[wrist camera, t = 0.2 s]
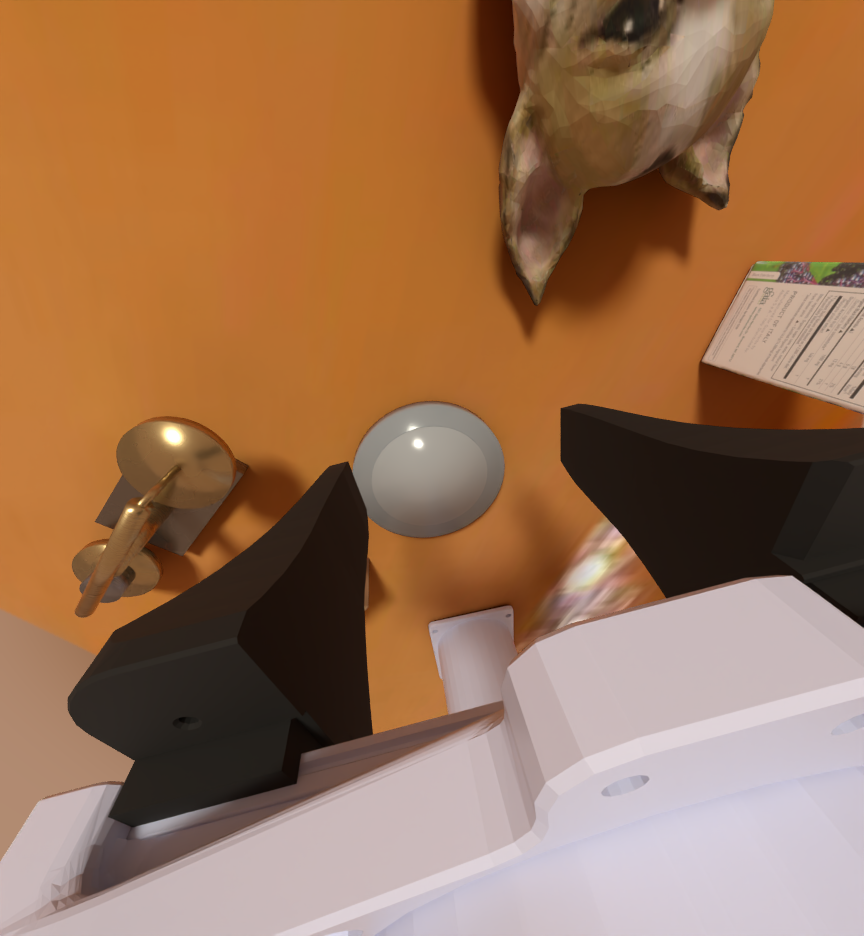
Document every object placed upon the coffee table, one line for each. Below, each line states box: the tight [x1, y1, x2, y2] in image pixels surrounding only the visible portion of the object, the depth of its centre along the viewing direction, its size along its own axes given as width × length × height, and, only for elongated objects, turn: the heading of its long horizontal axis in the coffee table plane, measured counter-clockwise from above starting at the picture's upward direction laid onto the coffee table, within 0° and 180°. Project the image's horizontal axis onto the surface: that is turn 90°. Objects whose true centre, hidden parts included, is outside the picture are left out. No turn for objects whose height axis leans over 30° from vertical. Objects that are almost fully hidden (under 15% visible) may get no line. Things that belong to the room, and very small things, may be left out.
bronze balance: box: [72, 416, 248, 617], centre depth 18 cm, size 16×5×8 cm, turn 138°
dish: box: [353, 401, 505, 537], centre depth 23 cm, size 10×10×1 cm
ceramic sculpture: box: [499, 0, 774, 305], centre depth 11 cm, size 11×9×15 cm
